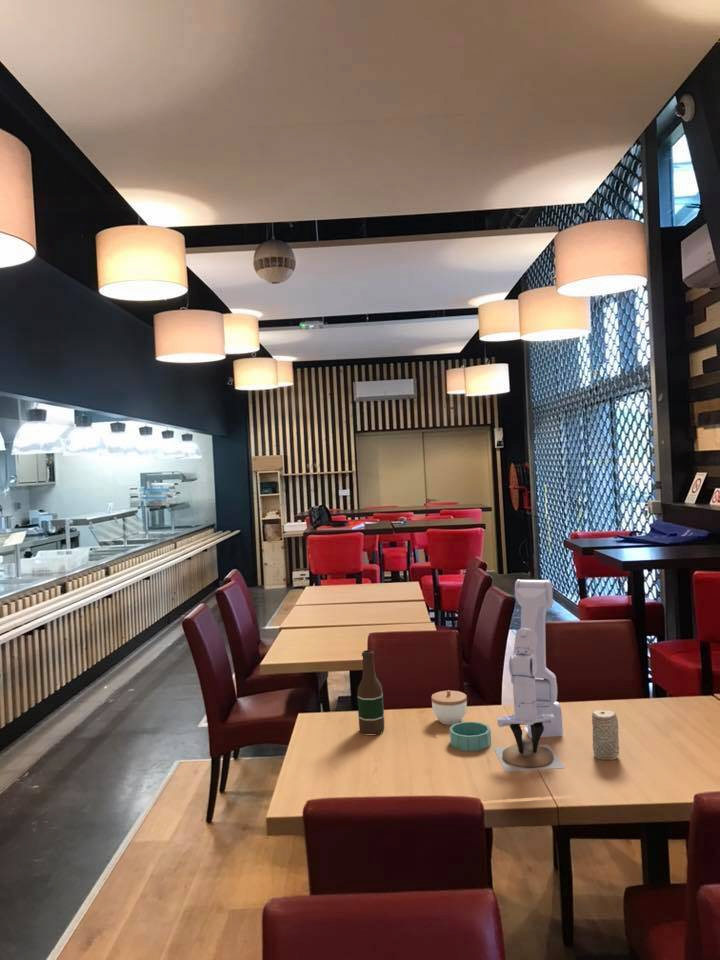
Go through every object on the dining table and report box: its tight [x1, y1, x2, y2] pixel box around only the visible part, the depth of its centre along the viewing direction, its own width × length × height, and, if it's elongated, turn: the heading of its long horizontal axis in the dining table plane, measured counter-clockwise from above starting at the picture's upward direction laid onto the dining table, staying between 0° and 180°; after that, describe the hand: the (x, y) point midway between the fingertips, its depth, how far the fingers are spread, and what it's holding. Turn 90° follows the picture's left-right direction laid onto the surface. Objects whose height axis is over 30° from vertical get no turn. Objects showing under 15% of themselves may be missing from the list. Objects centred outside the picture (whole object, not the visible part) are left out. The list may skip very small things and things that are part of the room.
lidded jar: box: [430, 689, 468, 726], centre depth 217 cm, size 11×11×9 cm
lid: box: [502, 738, 554, 768], centre depth 186 cm, size 13×13×4 cm
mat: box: [493, 744, 566, 773], centre depth 186 cm, size 15×15×1 cm
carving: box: [591, 709, 620, 761], centre depth 184 cm, size 6×8×12 cm
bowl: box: [448, 721, 492, 752], centre depth 198 cm, size 11×11×4 cm
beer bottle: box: [356, 649, 385, 735], centre depth 212 cm, size 8×8×24 cm
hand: (527, 751), depth 186 cm, fingers closed on lid, 3 cm apart
